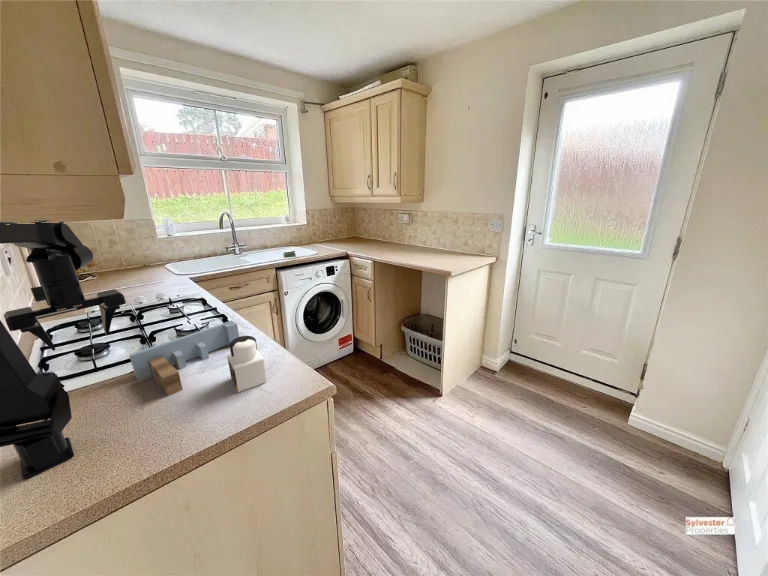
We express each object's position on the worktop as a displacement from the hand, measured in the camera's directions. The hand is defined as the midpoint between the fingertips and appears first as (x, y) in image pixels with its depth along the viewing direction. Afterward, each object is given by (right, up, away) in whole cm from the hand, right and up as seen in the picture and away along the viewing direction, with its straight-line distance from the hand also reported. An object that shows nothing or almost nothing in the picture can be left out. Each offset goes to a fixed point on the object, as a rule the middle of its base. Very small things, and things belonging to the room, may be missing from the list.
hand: (81, 341), depth 72 cm
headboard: (+16, -8, +16) cm, 24 cm away
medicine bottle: (+36, -12, +8) cm, 38 cm away
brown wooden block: (+15, -12, +7) cm, 20 cm away
